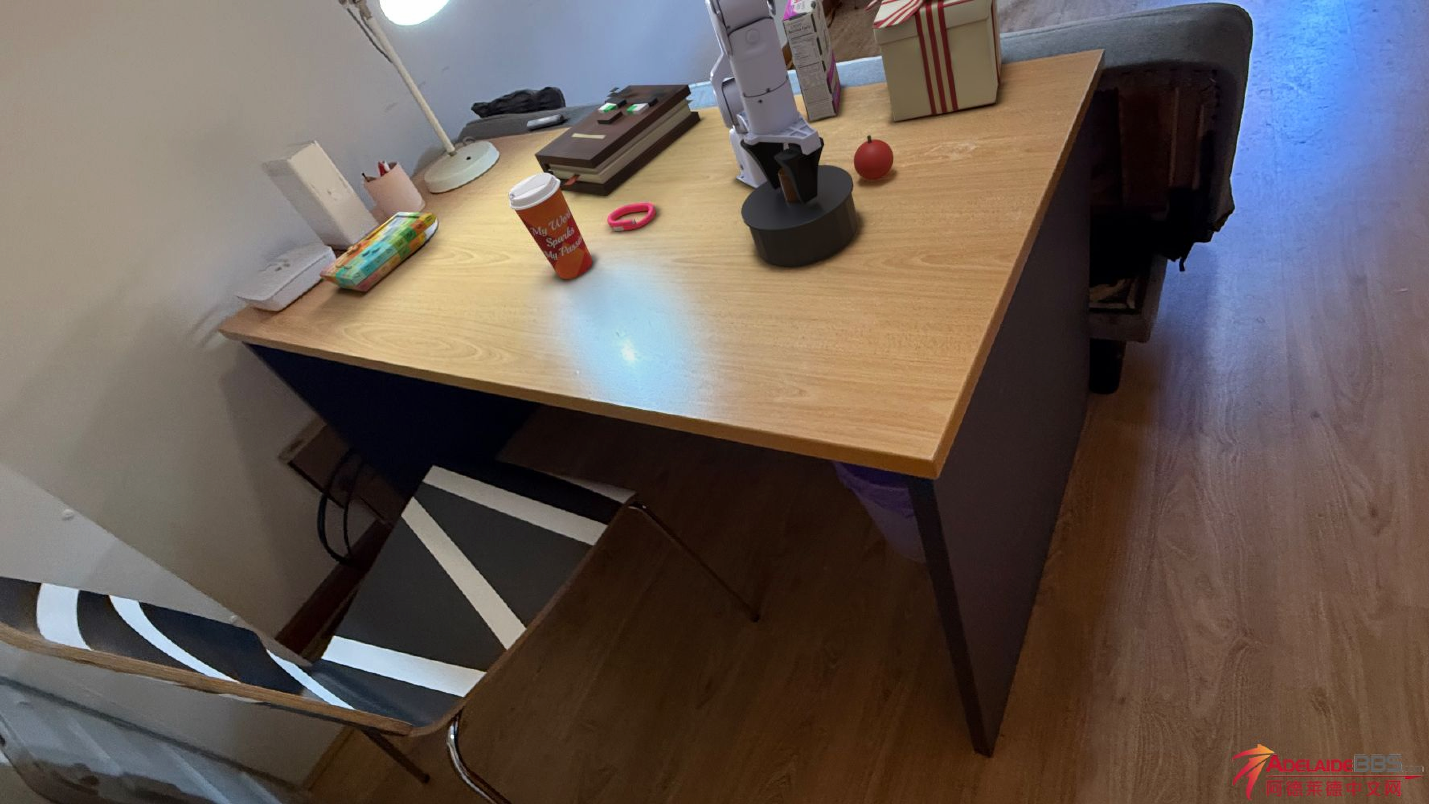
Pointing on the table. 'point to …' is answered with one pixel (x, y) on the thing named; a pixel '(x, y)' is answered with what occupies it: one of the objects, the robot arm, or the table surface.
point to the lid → (796, 202)
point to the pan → (809, 240)
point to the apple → (873, 159)
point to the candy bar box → (812, 57)
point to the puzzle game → (379, 251)
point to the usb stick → (545, 121)
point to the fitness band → (631, 223)
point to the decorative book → (618, 137)
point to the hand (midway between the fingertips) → (794, 192)
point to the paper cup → (551, 224)
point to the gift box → (938, 54)
